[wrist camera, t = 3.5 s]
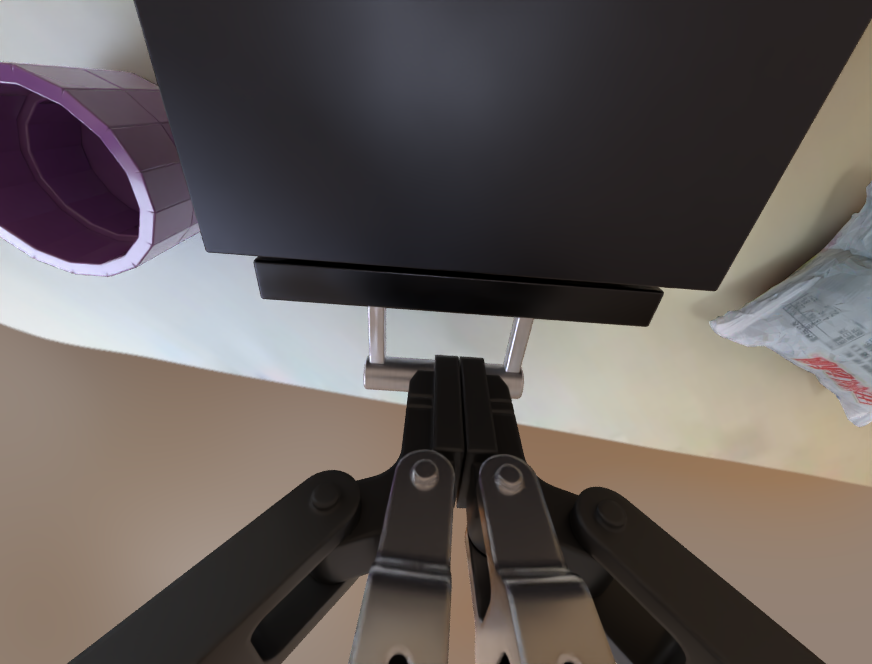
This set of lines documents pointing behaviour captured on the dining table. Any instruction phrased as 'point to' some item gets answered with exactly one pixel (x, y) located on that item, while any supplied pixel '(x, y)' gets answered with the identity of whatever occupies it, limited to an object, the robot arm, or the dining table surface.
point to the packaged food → (821, 317)
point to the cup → (88, 169)
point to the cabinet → (494, 127)
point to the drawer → (451, 305)
